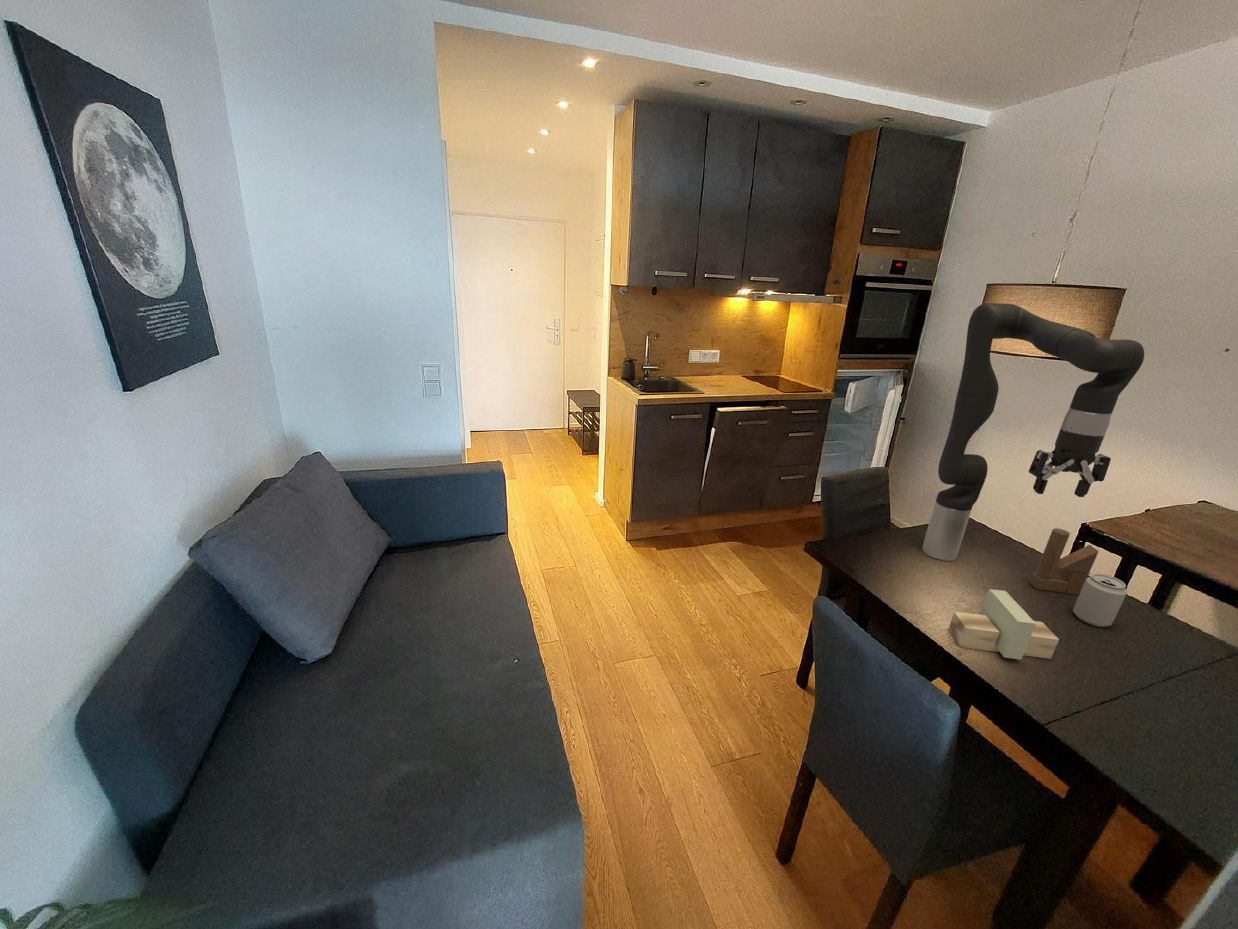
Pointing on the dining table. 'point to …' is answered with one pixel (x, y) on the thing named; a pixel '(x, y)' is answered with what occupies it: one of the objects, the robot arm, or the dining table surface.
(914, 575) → the dining table surface
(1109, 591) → the can
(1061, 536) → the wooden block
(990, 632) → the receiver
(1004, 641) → the sage green tall block
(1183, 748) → the dining table surface
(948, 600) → the dining table surface
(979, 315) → the robot arm
